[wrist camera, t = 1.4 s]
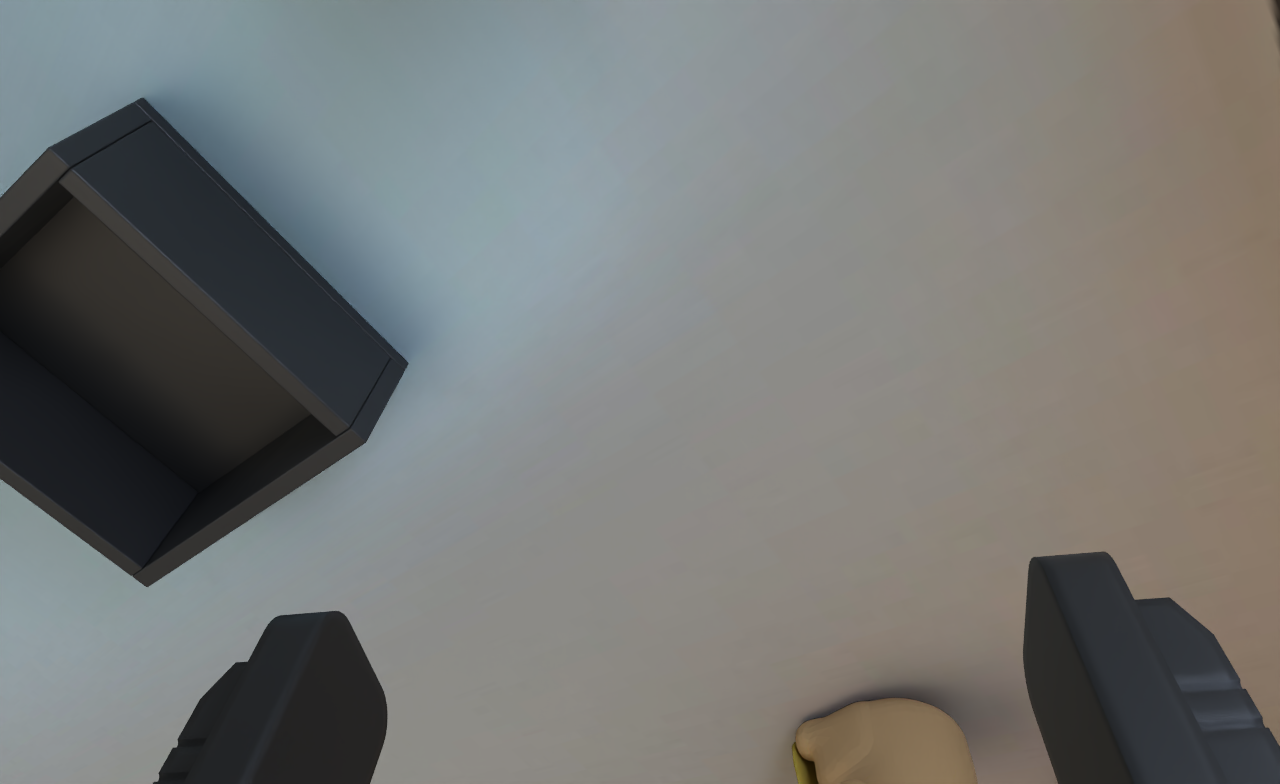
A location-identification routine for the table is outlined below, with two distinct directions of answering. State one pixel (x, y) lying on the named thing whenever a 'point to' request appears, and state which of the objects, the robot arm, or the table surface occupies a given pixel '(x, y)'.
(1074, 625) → the robot arm
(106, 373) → the dark grey open box
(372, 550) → the table surface
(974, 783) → the figurine
